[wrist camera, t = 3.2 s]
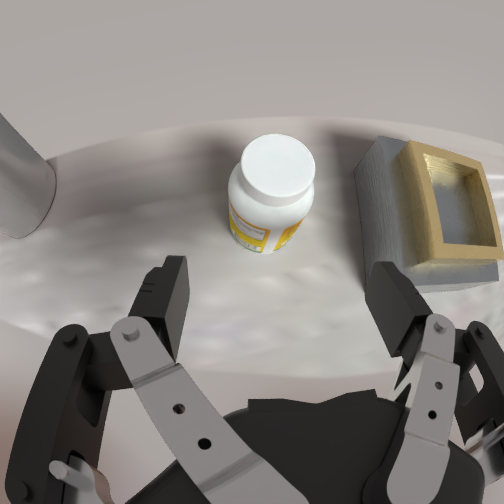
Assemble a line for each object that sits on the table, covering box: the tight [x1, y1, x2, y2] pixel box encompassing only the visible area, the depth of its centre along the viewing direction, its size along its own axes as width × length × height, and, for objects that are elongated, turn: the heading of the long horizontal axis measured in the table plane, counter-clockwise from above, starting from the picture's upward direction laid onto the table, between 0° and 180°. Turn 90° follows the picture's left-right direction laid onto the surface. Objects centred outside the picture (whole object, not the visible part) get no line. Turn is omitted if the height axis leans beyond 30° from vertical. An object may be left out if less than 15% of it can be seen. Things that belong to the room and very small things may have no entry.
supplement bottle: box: [228, 134, 315, 254], centre depth 18 cm, size 5×5×10 cm
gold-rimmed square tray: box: [354, 136, 504, 293], centre depth 20 cm, size 12×12×8 cm
